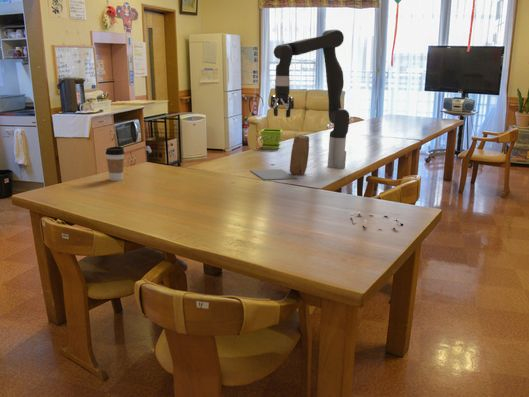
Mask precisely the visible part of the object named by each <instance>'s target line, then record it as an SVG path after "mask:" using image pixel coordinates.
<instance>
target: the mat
mask: <svg viewBox="0 0 529 397" xmlns="http://www.w3.org/2000/svg"><path fill="white" fill-rule="evenodd" d="M249 172H251V173H252V174H254V175H255V176H256V177H258V178H260V179H262V180H263V181H277V180H278V181H280V180H298V177H297V176H295V175H294V174H291V173H290V172H287V171H286V170H283V169H282V168H280V169H251V170H249Z"/></svg>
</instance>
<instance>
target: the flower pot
mask: <svg viewBox="0 0 529 397" xmlns="http://www.w3.org/2000/svg"><path fill="white" fill-rule="evenodd" d="M260 135H261V136H260V137H261V142H262V144H261V148H262V149H265V150H266V149H267V150H278V149H279V148H280V147H281V140H282V136H283V129H282V128H281V129H280V128H262V129H261V131H260Z"/></svg>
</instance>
